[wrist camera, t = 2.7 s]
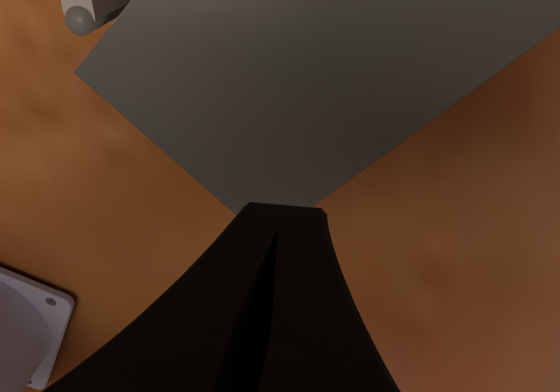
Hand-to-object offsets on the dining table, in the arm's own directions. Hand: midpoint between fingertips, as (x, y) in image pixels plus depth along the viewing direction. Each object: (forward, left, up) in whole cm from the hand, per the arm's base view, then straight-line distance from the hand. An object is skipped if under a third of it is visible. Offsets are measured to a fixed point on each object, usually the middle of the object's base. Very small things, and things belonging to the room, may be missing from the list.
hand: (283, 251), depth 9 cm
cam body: (-1, +2, -10) cm, 10 cm away
